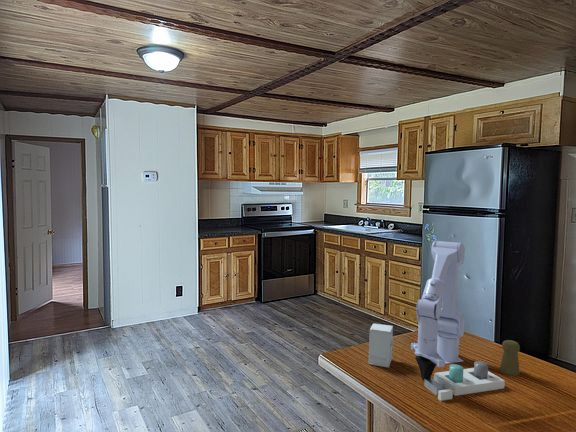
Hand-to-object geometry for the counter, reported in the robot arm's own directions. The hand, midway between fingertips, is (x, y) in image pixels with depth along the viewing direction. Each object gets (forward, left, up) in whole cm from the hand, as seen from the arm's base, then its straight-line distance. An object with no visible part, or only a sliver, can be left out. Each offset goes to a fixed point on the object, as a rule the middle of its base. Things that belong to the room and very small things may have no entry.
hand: (425, 380), depth 128 cm
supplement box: (-20, -5, -2) cm, 20 cm away
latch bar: (+4, 0, -2) cm, 4 cm away
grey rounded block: (+3, +18, -1) cm, 18 cm away
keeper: (+9, 0, -2) cm, 9 cm away
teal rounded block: (+3, +8, -1) cm, 9 cm away
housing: (+3, +13, -2) cm, 14 cm away
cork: (-1, +33, -2) cm, 33 cm away
